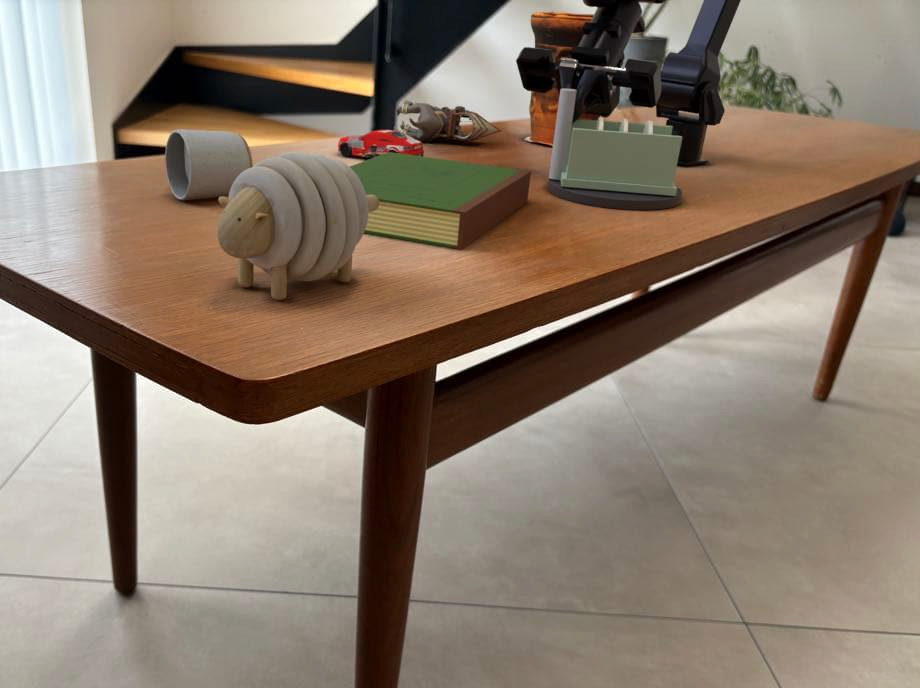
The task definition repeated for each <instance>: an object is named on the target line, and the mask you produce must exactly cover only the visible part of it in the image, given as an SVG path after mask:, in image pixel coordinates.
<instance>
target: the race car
mask: <svg viewBox="0 0 920 688" xmlns="http://www.w3.org/2000/svg"><path fill="white" fill-rule="evenodd" d="M337 147H338V148H337V151H338V152H339V153H340V154H341V155H342V157H345V158H348V157H351V156H356V157H364V158H369V159H371V158H374V157H377V156H380V155H382V154H385V153H388V152H392V153H400V154H407V155H415V156H422V157H424V153H425V150H424V146H423V142H420V141H418V140H415V139H413V138H412V137H410V136H409V135H406V134H403V133H401V132H397V131H394V130H392V129H391V130H390V129H376V130H373V131H370V132H367V133H365V134H353V135H347V136H343V137H341V138H339V141H338V143H337Z"/></svg>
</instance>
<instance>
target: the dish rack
mask: <svg viewBox="0 0 920 688" xmlns="http://www.w3.org/2000/svg"><path fill="white" fill-rule="evenodd" d="M576 92H577V90H575V89H560V97H559V104H558V112H557V119H556V127H555V134H554V142H553V146H552V151H551V157H550V165H549V172H548V179H549V178H550V179H554V180H561V187H572V188H584V189H596V190H608V191H620V192H632V193H644V194H656V195H668V196H676V193H677V187H678V186H677V185H676V184H675V176H676V172H677V167H678V164H677V162H678V157H679V152H680V147H681V142H682V136H672V135H671V134H672V128H673V126H666V124H665V125H664V124H654V123H653V121H652V120H646V121H645V123H636V122H629V120H628V118H622V120H621V121H612V120H609V121H608V120H604V117H601V116H600V117H599V118H598V120H585V119H577V120H576V121H575V122H574V123H573V124H572V120H573V113H574V106H575V99H576ZM676 186H677V187H676Z"/></svg>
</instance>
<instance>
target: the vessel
mask: <svg viewBox="0 0 920 688" xmlns="http://www.w3.org/2000/svg"><path fill="white" fill-rule="evenodd" d="M594 14H595V13H582V14H581V13H571V12H556V11H542V12H541V11H539V12H538V11H537V12H533V13H531V15H530V27H531V31H532V33H533V36H534V48H540V49H549V50H551V51H552V55H553V60H554V63H561V62H560V59H561V58H571V59H572V57H571V50H572V48H573V46H579V44H580V42H581V40H582V38H583V36H584V34H583V26H584V24H585V22H591V20H592V18H593V16H594ZM530 92H531V93H530V100H529V101H530V102H529V106H528V113H529V117H530V134H531V136H529V135H528V136H526V137H525V138H524V141H527V142H531V143H539V144H544V145H548V146H550V147H553V142H554V134H555V127H556V119H557V112H558V104H559V97H560V96H559V94H558V89H557V85H556V81H555V85H554V87H553V89H552V90H550V91H548V92H546V93H540V92H532V91H530ZM599 117H601V116H596V115H584V114H583V115H582V116H581V117H580V118H579V119H585V120H598V118H599Z"/></svg>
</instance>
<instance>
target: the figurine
mask: <svg viewBox="0 0 920 688" xmlns="http://www.w3.org/2000/svg"><path fill="white" fill-rule="evenodd" d="M395 111H396V115H397V116H400V115H401V114H402V115H408V114H409V115H410V114H416V115H417V114H419V116H418V118H417V121H414V120H413V118H411V117H409V122H410V124H411V125H410V124H408V123H406V124H405V121H404V120H402V121H401V124H400V125H399V128H401V129H400V130H399V129H398V128H397V127H396V126H394V127H393V131H397V132H401V133H403V134H406V135H409V136H410V137H412V138H413V139H415V140H418V141H420V142H422V143H424V142H426V141H428V140H435V139H438V138H446V139H450V140H452V139H453V140H457V141H460V142H464V143H466V142H468V143H469V142H474V141H477V140H480V139H483V138H486V137H488V136H491V135H494V134H497V133H501V132H502V129H500V128H498V127H496V126H495V125H493V124H492V123H491V122H489V121H488V120H487V119H485V118H484V117H483V116H482V115H480V114H479V113H477V112H474V111H472V110H469V109H468V110H467V109H466V107H465V106H462V105H456V106H455V107H454V108H451V107H450V108H449V107H448V106H443V107H441V108H440V107H438V106H433V105H431V104H429V103H425V102H418V101H416V100H413V101H410V100H407V99H404V102H402V106H400V105H398V106H397V108H396V109H395ZM461 118H463V119H464V118H465V119H468V120H464V121H462V120H461ZM464 122H465V123H469V122H470V123H472V126H471V132H469V134H467V132H462V128H463V126H462V125H460V123H464ZM411 126H413V127H411ZM414 127H415V128H414Z"/></svg>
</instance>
